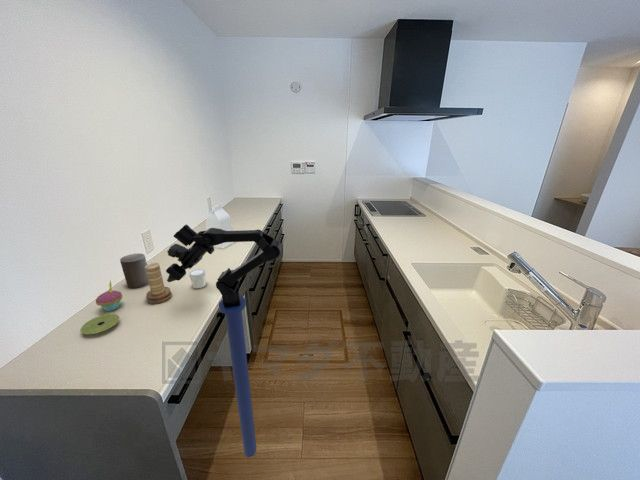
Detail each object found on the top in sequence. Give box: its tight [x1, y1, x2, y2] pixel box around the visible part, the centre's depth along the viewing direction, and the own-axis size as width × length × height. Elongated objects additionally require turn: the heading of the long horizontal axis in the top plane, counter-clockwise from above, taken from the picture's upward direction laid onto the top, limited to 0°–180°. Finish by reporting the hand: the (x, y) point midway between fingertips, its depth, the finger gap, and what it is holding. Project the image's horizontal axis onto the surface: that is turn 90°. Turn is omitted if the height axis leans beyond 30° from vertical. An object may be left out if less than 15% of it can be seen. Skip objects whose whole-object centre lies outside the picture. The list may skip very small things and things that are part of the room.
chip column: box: [145, 262, 166, 295], centre depth 112 cm, size 5×5×13 cm
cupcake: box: [95, 280, 123, 312], centre depth 106 cm, size 9×8×12 cm
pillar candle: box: [119, 252, 149, 289], centre depth 124 cm, size 10×10×15 cm
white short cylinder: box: [188, 268, 207, 289], centre depth 124 cm, size 7×7×7 cm
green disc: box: [80, 313, 120, 335], centre depth 97 cm, size 11×11×2 cm
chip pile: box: [145, 286, 173, 305], centre depth 114 cm, size 10×10×3 cm
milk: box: [205, 204, 235, 250], centre depth 169 cm, size 12×12×26 cm
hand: (174, 275), depth 110 cm, fingers open, 9 cm apart
